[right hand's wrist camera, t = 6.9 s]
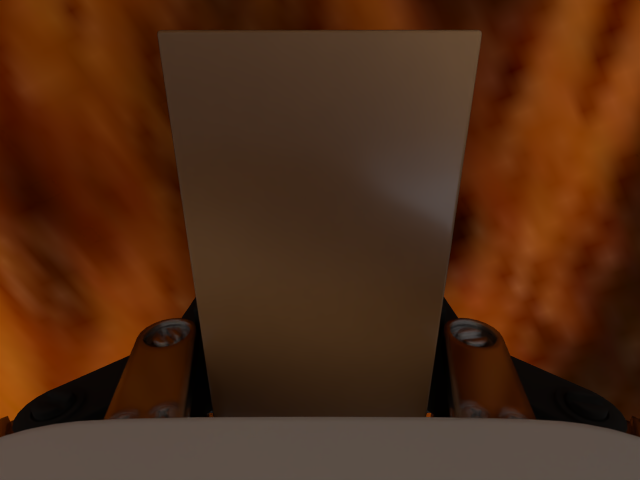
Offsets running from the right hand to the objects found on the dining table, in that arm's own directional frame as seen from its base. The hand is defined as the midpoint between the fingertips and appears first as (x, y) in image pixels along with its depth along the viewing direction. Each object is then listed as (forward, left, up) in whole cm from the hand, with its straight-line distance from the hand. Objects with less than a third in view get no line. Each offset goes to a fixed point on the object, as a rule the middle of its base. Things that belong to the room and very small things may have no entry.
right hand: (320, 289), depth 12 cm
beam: (+21, -9, -2) cm, 23 cm away
